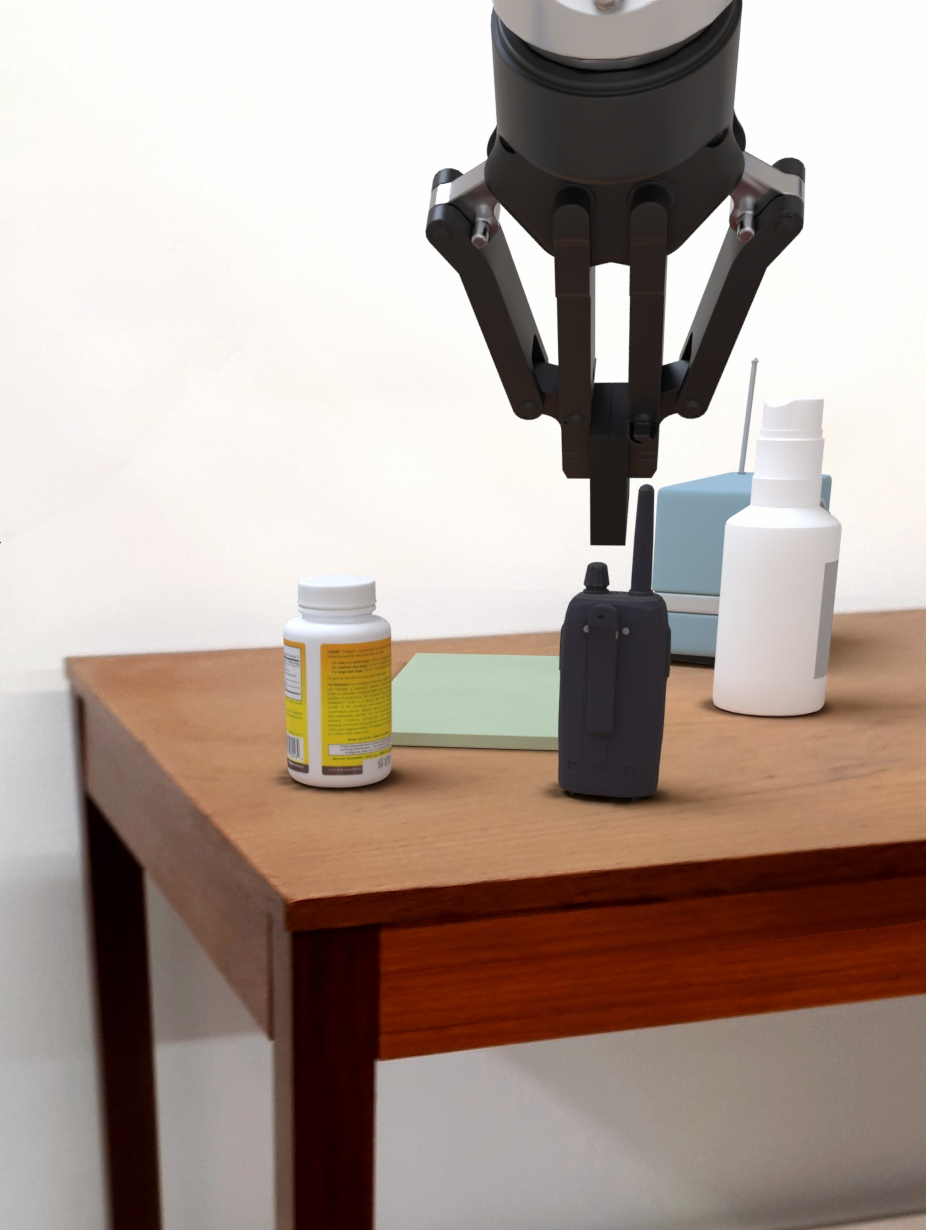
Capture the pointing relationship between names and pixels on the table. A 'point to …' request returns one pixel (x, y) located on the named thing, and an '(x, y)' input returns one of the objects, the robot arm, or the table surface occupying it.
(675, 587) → the radio
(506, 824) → the table surface
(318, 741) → the supplement bottle
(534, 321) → the robot arm
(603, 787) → the two-way radio
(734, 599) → the spray bottle
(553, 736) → the mat
